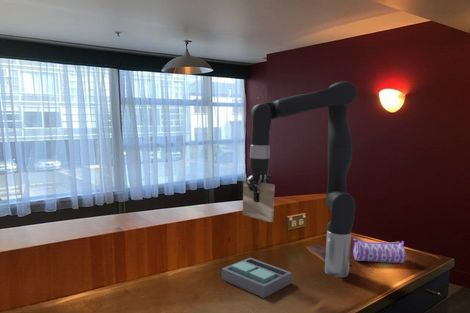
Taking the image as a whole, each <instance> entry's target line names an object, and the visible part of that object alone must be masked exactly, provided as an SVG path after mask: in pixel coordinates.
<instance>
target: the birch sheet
mask: <svg viewBox="0 0 470 313" xmlns="http://www.w3.org/2000/svg"><path fill="white" fill-rule="evenodd" d="M255 184H256V183H255ZM242 187H243V193H242V196H243V197H242V216H246V217H249V218H253V219H256V220H257V219H258V220H261V221H264V222H267V223H268V222H269V223H272V222H273V223H274V219H275V218H274V214H275V213H274V212H275V184H274V183H273V184H272V183H269V184H268V183H261V186H260V192H259V202H254V200H253V197H254V192H253V191H250V190H249V187H248V185H247V182H246V179H244V180H243V186H242ZM256 189H257V187H256Z"/></svg>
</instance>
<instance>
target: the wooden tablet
mask: <svg viewBox="0 0 470 313" xmlns="http://www.w3.org/2000/svg"><path fill="white" fill-rule="evenodd" d="M308 246H309V247H308ZM308 246H306V247H307V249H308V250H309V253H311V254H312V255H314V256H316V257H317V258H318V259H320V260H321V261H322V262H323V263H325V257H326V247H324V246H323V245H320V244H314V245H308ZM307 249H306V250H307ZM308 250H307V251H308ZM349 267H352V264H351V263H350V262H349Z"/></svg>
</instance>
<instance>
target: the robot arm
mask: <svg viewBox="0 0 470 313" xmlns="http://www.w3.org/2000/svg"><path fill="white" fill-rule="evenodd" d="M357 94H358V91H357V88H356V86H355V85H354V84H353V83H351V82H350V81H346V80H345V81H337V82H335V83H332V84H331V85H330V86H329V87H327V88H324V89H321V90H317V91H313V92H307V93H302V94H296V95H292V96H288V97H282V98H279V99H277V100H273V101H268V102H262V103H258V104H255V105H253V106H252V108H251V110H250V116H251V117H250V118H251V119H252V130H251V133H250V147H249V148H250V149H249V169H250V175H249V176H248V177H246V178H245V180H246V182H247V185H248V187H249V190H250V191H253V192H254V197H253V200H254V202H259V192H260V186H261V183H268V184H271V183H270V182H271V181H272V175H271V174H268V170H269V169H270V156H271V155H270V154H271V151H270V150H271V148H270V133H271V132H270V130H271V124H272V120H274V119H278V118H287V117H291V116H295V115H299V114H303V113H306V112H309V111H313V110H317V109H322V108H326V107H327V115H328V124H327V125H328V126H327V128H328V129H327V188H326V195H325V196H326V197H325V202H326V203H325V204H326V206H327V208H328V209H329V210H330V211H331V214H330V221H328V222H327V225H326V242H325V244H326V245H325V248H326V257H325V262H324V263H325V264H324V272H325V274H327V275H330V276H332V277H336V278H341V279H343V278H346V277H348V276H349V273H350V266H349V263H350V261H351V260H350V257H351V243H352V242H351V240H352V228H353V227H354V222H355V213H356V201H355V198H354V196H352V195H351V194H350V193H348V192H347V175H348V171H349V169H350V166H351V164H352V159H353V138H352V133H351V129H350V125H349V122H348V106H350V105H351V104H352V103H353V102H354V101H355V100H356V99H357V98H356V97H357ZM255 183H256V184H255ZM256 187H257V189H256Z"/></svg>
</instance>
